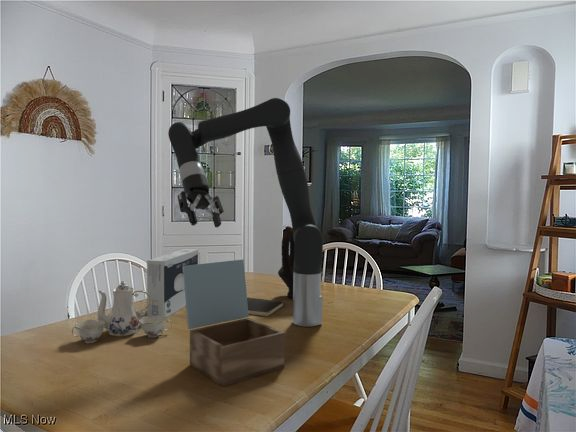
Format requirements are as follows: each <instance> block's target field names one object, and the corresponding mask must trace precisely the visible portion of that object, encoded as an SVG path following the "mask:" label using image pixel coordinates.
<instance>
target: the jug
mask: <svg viewBox="0 0 576 432" xmlns="http://www.w3.org/2000/svg"><path fill="white" fill-rule="evenodd" d="M294 246H295V242H294V238H293V229H292V226H291V225H290V226H289V225H287V226H285V230H284V232H283V236H282V239H281V267H280V269H279V270H278V272H277V275H278V276H279V278H280V279H281V280H282V282H283V283H284V284H285V285H286V287H287V288H288V292H287V297H288V298H291V299H293V274H294ZM322 277H323V272H322V270H321V278H322Z"/></svg>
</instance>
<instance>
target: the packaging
mask: <svg viewBox="0 0 576 432" xmlns="http://www.w3.org/2000/svg"><path fill="white" fill-rule="evenodd" d="M196 264H199V249H196V248H193V249H191V248H183V249H180V250H176V251H173V252H169V253H168V254H163V255H161V256H157V257H155V258H150V259H148V260H146V292H147V293H148V294H149V295H150V298H151V302H150V305H149V306H148V308H146V309H147V311H146V313H147V315H146V316H147V317H150V318H151V317H152V316H154V315H160V316H162V317H170V316H172V315H174V314H175V313H176V312H179V311H180V310H181V309H184V308H185V307H186V298H185V286H184V274H183V266H187V265H196ZM146 296H147V295H146ZM148 302H149V298H148V296H147V297H146V306H147V305H148Z"/></svg>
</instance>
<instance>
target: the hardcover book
mask: <svg viewBox="0 0 576 432" xmlns="http://www.w3.org/2000/svg"><path fill="white" fill-rule="evenodd" d="M247 304H248V315H256V316H265V317H268V316H269V315H271V314H273V313H275V312H276V311H277V310H279V309H281V307H283V306H285V303H284V301H283V300H275V299H274V300H273V299H264V298H254V297H247Z"/></svg>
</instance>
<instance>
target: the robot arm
mask: <svg viewBox="0 0 576 432" xmlns="http://www.w3.org/2000/svg"><path fill="white" fill-rule="evenodd" d="M260 127H266V129H267V132H268V135H269V138H270V142H271V145H272V150H273V158H274V167H275V171H276V175H277V180H278V184H279V187H280V190H281V193H282V195H283V200H284V201H285V204H286V206H287V209H288V211H289V215H290V221H291V228H292V229H293V238H294V242H295V246H294V274H293V298H292V323H293V324H294V326H299V327H315V326H320V325H322V324H323V295H322V293H321V292H322V290H321V289H322V277H321V271H322V265H323V254H324V251H323V250H324V248H323V247H324V239H323V238H324V237H323V234H322V232H321V230H320V229H319V227H318V226H317V223H316V221H315V218H314V216H313V213H312V212H313V211H312V209H311V204H310V201H311V200H310V190H309V184H308V178H307V174H306V170H305V167H304V164H303V159H302V158H301V155H300V153H299V151H298V148H297V146H296V143H295V140H294V136H293V131H292V126H291V108H290V105H289V104H288V102H287V101H286V100H284V99H283V98H281V97H273V98H269V99H268V100H266V101H263V102H261V103H259V104H257V105H254V106H252V107H249V108H246V109H243V110H240V111H237V112H232V113H228V114H223V115H220V116H215V117H211V118H208V119H204V120H201V121H199V123H198V124H197V129H194V130H193V131H191V128H190V126H189V125H187V124H186V123H184V122H181V121H176V122H174V123H172V124H171V125H170V126H169V128H168V133H167V136H168V139H169V141H170V144H171V148H172V150H173V153H174V154H175V158H176V162H177V166H178V170H179V177H180V180H181V185H182V187H183V190H182V191H181V192H180V193H179V194H178V195H177V201H178V206H179V210H180V212H181V213H185V214H186V215H187V217H188V221H189V223H190V224H191V226H194V227H195V225H196V224H198V218H197V215H196V211H195V209H196V210H199V209H200V210H204V211H205V212H206V213H209V215H210V216H212V217H211V218H212V221H213V225H214V227H215V228H219V227H220V226H221V225H222V220H221V218H220V217H221V216H220V215H222V214H223V213H224V212H225V211H224V208H223V205H222V203H221V200H220V197H219V196H218V195H216V196H211V195H210V185H209V183H208V180H207V176H206V173H205V170H204V169H205V168H203V165H202V163H201V158H200V155H199V153H198V151H197V150H196V149H198V148H200V147H202V146H204V145H207V143H210V142H214V141H218V140H221V139H225V138H227V137H231V136H233V135H234V136H235V135H237V134H238V133H239V134H240V133H242V132H244V131H247V130H251V129H256V128H260ZM188 202H189V203H188Z"/></svg>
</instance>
